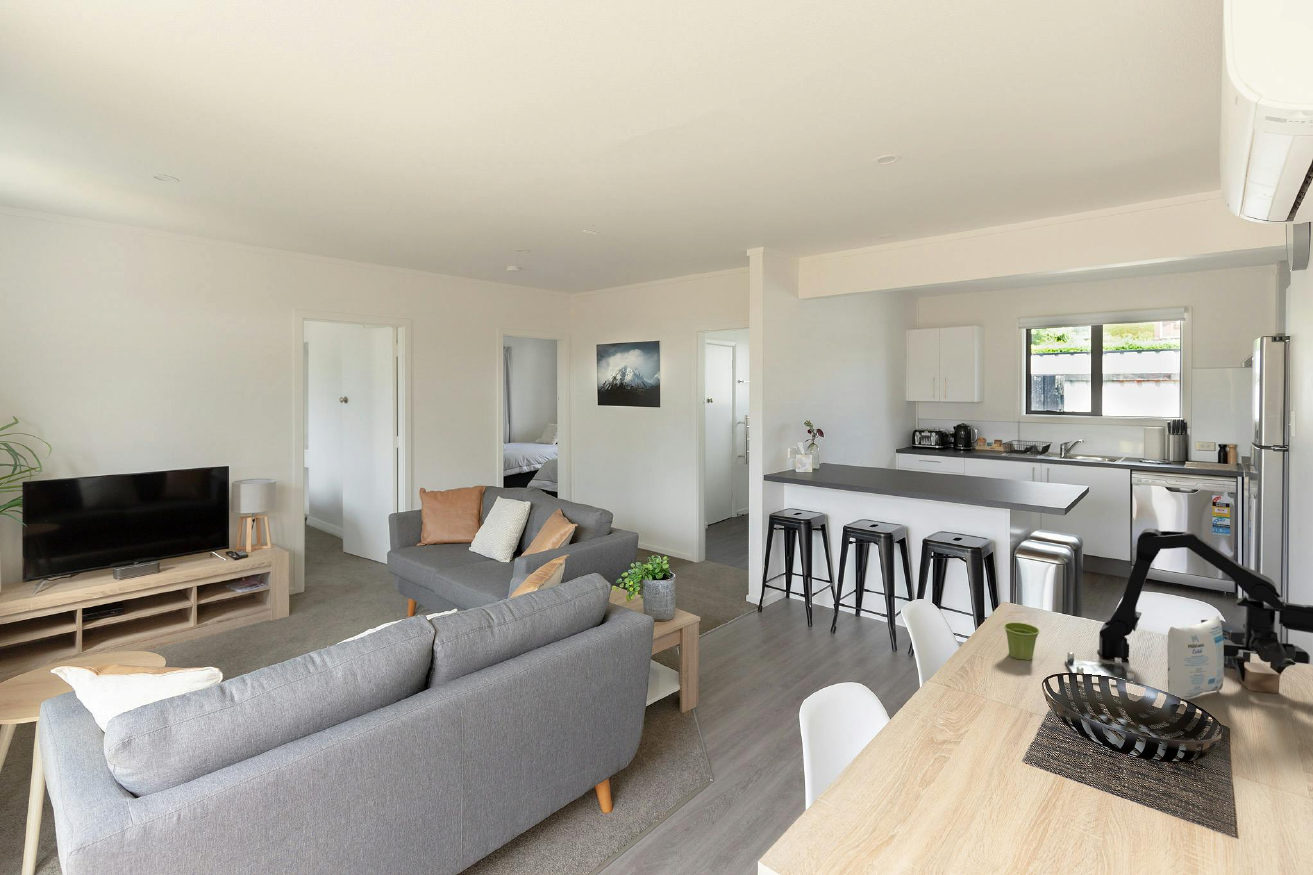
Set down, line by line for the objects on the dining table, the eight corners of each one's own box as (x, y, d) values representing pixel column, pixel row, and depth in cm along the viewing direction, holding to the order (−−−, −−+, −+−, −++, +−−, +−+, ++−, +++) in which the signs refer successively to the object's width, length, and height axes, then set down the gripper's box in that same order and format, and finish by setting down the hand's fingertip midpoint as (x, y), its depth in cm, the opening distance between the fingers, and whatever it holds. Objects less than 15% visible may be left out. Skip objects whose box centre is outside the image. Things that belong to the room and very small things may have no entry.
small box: (1252, 668, 184) (1253, 631, 184) (1228, 668, 184) (1230, 632, 184) (1220, 653, 195) (1222, 618, 194) (1198, 653, 195) (1199, 619, 194)
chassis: (1075, 681, 179) (1076, 669, 179) (1064, 662, 191) (1064, 651, 191) (1137, 688, 174) (1137, 675, 174) (1121, 668, 186) (1121, 656, 186)
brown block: (1250, 690, 171) (1250, 671, 171) (1236, 679, 178) (1237, 661, 177) (1279, 693, 169) (1279, 674, 169) (1264, 681, 176) (1265, 663, 175)
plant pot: (1045, 657, 195) (1045, 628, 195) (1029, 665, 190) (1029, 636, 189) (1013, 647, 203) (1013, 620, 202) (997, 655, 198) (997, 627, 197)
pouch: (1237, 698, 167) (1240, 621, 166) (1184, 711, 162) (1186, 632, 160) (1203, 685, 175) (1206, 612, 173) (1151, 697, 169) (1153, 621, 168)
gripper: (1230, 631, 168) (1227, 690, 169) (1324, 639, 161) (1321, 700, 162) (1210, 617, 178) (1208, 672, 179) (1298, 624, 172) (1295, 681, 173)
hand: (1257, 682), depth 173 cm, fingers closed on brown block, 6 cm apart
